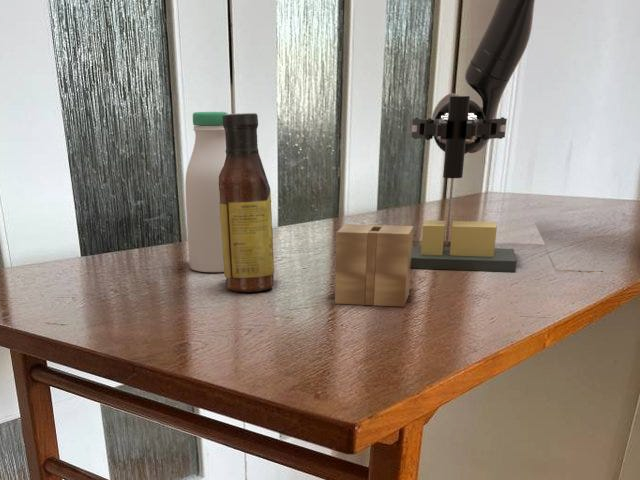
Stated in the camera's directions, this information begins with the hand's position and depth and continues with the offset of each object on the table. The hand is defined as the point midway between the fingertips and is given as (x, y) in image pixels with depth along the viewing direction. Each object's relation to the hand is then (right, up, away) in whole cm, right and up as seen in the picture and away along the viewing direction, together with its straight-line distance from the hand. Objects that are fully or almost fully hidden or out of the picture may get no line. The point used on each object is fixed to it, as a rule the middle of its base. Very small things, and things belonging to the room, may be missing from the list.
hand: (456, 130), depth 99 cm
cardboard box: (-12, -25, -10) cm, 29 cm away
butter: (+2, -15, +10) cm, 18 cm away
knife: (+1, -12, +9) cm, 15 cm away
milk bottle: (-32, -16, +8) cm, 37 cm away
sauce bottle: (-27, -22, -4) cm, 35 cm away
